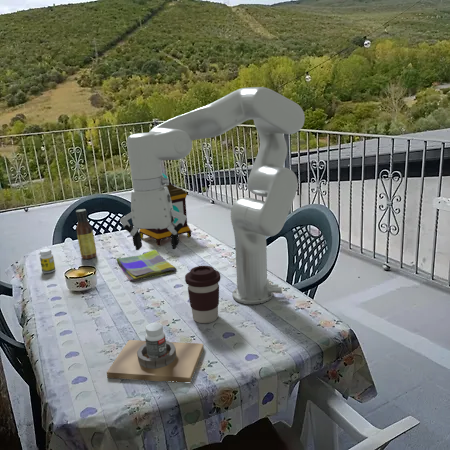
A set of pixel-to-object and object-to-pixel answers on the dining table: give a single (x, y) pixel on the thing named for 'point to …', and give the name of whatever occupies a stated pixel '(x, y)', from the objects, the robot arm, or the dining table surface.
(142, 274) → the dish towel
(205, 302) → the coffee cup
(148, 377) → the ring jig
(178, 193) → the decorative lantern
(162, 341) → the pill bottle
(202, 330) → the dining table surface
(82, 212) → the sauce bottle
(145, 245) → the dining table surface
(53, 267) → the supplement bottle
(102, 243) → the dining table surface
